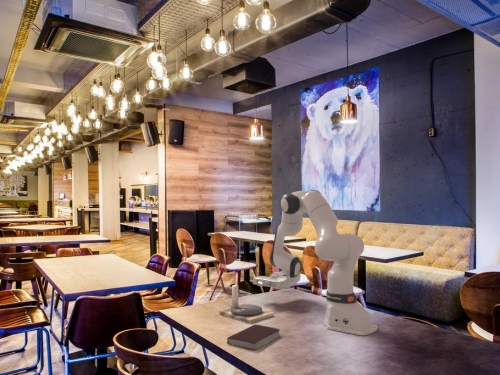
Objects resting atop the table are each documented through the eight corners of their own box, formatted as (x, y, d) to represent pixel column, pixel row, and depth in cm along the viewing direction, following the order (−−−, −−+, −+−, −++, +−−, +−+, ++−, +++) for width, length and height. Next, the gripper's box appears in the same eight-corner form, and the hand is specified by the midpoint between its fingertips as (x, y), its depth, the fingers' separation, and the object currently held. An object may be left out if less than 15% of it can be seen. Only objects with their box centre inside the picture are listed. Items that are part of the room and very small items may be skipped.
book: (226, 345, 145) (226, 336, 145) (254, 330, 161) (254, 322, 161) (254, 352, 138) (254, 343, 138) (280, 336, 154) (280, 328, 154)
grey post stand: (267, 308, 185) (267, 285, 185) (253, 317, 171) (253, 292, 172) (236, 304, 192) (236, 282, 193) (220, 312, 179) (220, 288, 179)
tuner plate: (273, 315, 180) (273, 312, 180) (249, 323, 169) (249, 319, 169) (243, 307, 194) (243, 304, 194) (219, 314, 183) (219, 310, 183)
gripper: (263, 272, 214) (245, 275, 204) (292, 276, 199) (274, 280, 189) (263, 284, 213) (245, 287, 203) (292, 289, 199) (274, 293, 189)
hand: (259, 284), depth 196 cm, fingers closed
